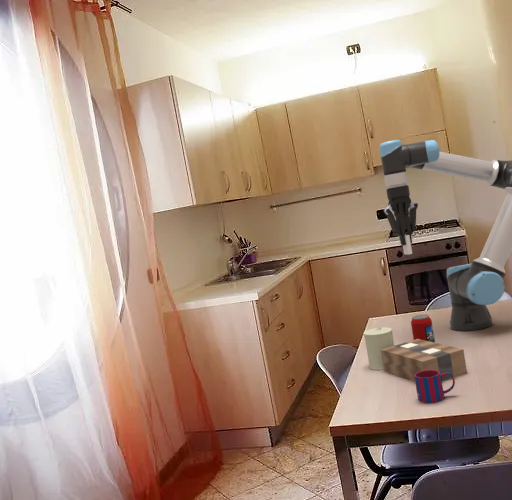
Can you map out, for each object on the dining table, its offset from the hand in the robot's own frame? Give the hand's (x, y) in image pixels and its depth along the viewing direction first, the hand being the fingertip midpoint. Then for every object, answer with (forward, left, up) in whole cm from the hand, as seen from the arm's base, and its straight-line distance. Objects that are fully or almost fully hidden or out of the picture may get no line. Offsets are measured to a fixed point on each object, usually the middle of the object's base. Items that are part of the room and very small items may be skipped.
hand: (408, 253), depth 214 cm
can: (+22, +8, -33) cm, 40 cm away
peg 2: (+18, +31, -32) cm, 48 cm away
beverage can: (+4, +7, -33) cm, 34 cm away
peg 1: (+18, +20, -32) cm, 42 cm away
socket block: (+18, +25, -32) cm, 45 cm away
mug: (+29, +46, -33) cm, 63 cm away
